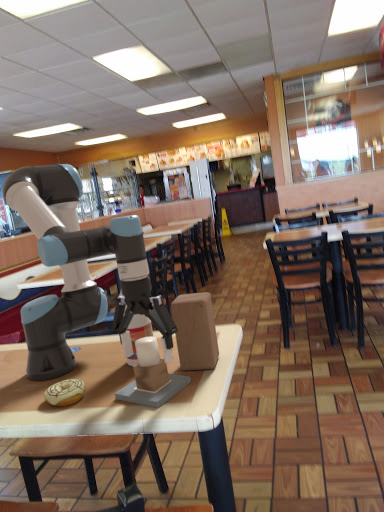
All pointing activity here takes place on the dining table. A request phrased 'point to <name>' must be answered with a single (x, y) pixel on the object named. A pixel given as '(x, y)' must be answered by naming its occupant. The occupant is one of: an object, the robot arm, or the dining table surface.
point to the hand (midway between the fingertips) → (148, 358)
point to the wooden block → (195, 331)
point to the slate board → (150, 397)
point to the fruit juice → (138, 333)
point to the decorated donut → (65, 392)
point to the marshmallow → (147, 351)
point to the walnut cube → (151, 376)
